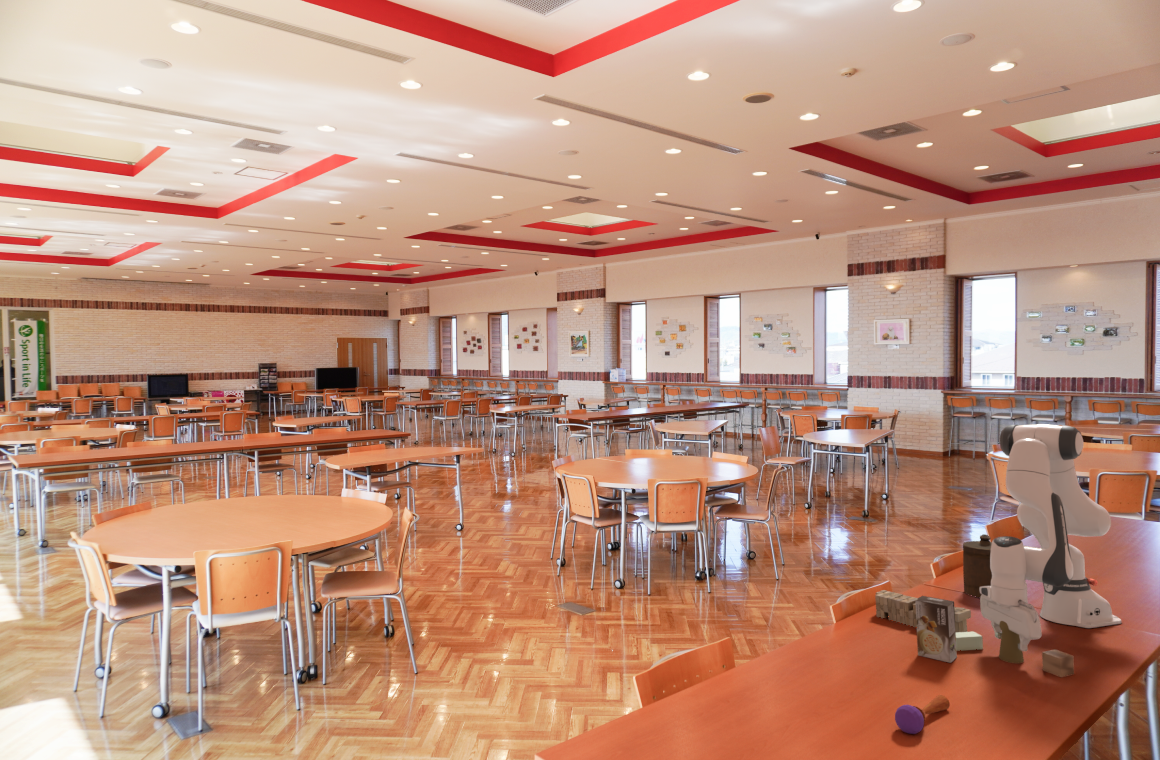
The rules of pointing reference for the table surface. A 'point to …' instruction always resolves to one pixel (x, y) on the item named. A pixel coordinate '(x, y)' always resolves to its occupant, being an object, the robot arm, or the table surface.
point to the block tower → (911, 610)
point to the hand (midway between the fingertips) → (1010, 644)
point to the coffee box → (936, 628)
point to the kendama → (918, 714)
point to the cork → (1009, 645)
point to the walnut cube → (1058, 663)
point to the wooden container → (976, 565)
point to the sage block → (968, 641)
